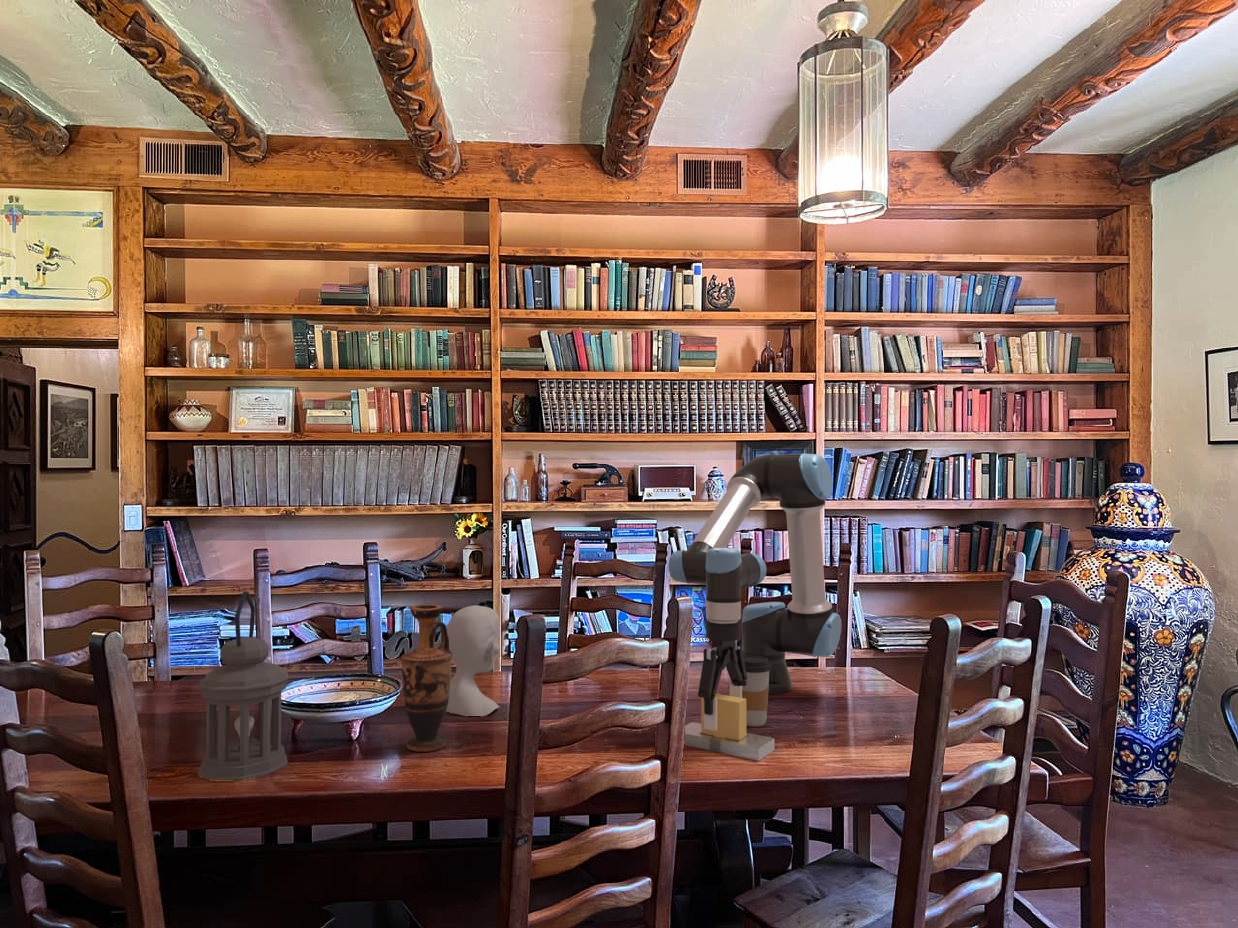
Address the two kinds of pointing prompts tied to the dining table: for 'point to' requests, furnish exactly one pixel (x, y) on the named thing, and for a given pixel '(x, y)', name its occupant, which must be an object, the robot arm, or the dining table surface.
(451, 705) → the head bust
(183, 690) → the dining table surface
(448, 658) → the vase
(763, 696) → the coffee cup
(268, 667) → the lantern
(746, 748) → the grey slotted base plate
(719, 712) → the yellow block
